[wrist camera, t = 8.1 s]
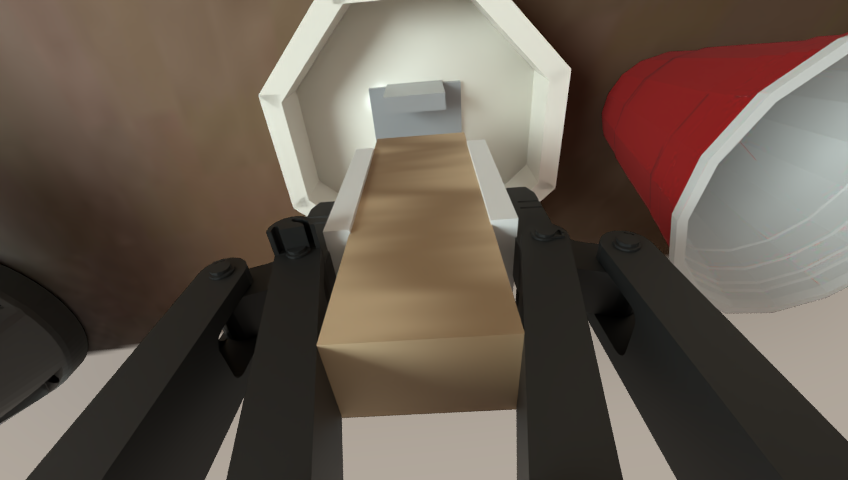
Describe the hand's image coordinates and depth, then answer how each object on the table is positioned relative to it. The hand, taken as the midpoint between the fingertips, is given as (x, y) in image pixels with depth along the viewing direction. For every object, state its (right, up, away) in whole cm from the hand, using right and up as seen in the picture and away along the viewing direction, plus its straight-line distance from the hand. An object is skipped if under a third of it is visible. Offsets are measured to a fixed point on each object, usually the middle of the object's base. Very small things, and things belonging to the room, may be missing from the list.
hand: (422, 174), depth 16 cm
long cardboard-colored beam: (0, +1, +1) cm, 2 cm away
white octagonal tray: (0, +4, +6) cm, 7 cm away
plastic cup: (+14, +5, +6) cm, 16 cm away
